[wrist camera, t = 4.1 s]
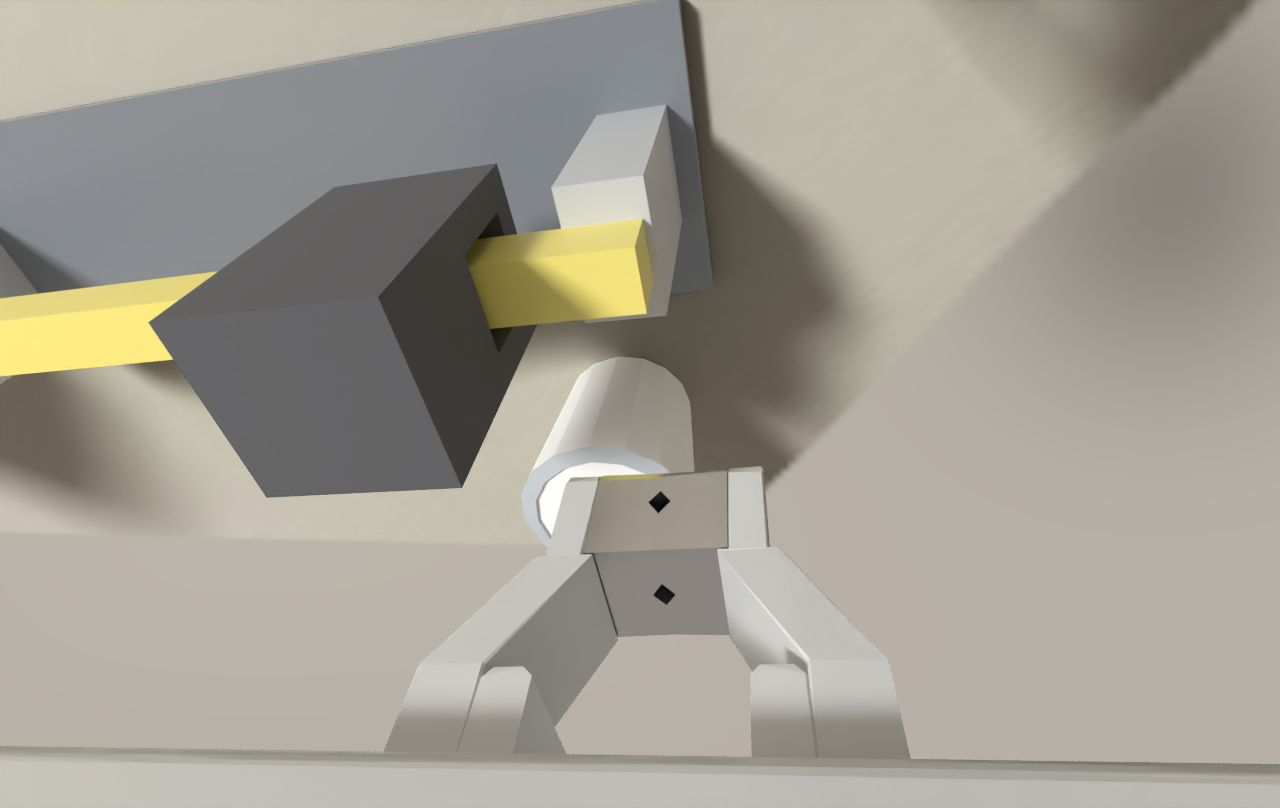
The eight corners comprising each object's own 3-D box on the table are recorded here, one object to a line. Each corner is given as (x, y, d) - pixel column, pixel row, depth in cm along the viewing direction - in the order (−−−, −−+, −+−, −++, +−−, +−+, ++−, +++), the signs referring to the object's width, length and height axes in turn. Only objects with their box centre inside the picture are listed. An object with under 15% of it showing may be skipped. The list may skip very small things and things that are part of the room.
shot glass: (540, 352, 30) (496, 455, 25) (693, 336, 29) (683, 442, 23) (576, 467, 34) (545, 578, 28) (712, 458, 33) (708, 573, 27)
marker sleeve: (496, 163, 19) (378, 297, 12) (540, 316, 21) (461, 487, 15) (334, 187, 20) (147, 322, 13) (396, 330, 22) (266, 497, 16)
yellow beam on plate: (679, -6, 21) (641, 61, 13) (713, 280, 27) (703, 462, 18) (-123, 143, 28) (-515, 256, 19) (43, 350, 33) (-200, 510, 25)
